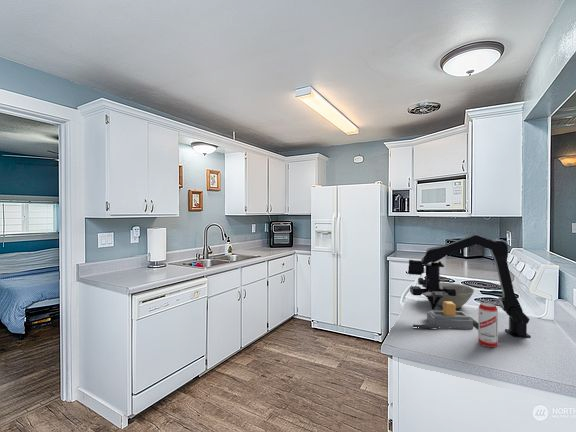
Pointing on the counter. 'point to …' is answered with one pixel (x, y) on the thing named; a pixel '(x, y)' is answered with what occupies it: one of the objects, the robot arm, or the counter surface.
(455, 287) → the ceramic bowl
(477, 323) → the cord
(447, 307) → the knob
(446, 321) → the power strip
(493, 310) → the beer can
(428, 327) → the cord
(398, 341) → the counter surface
